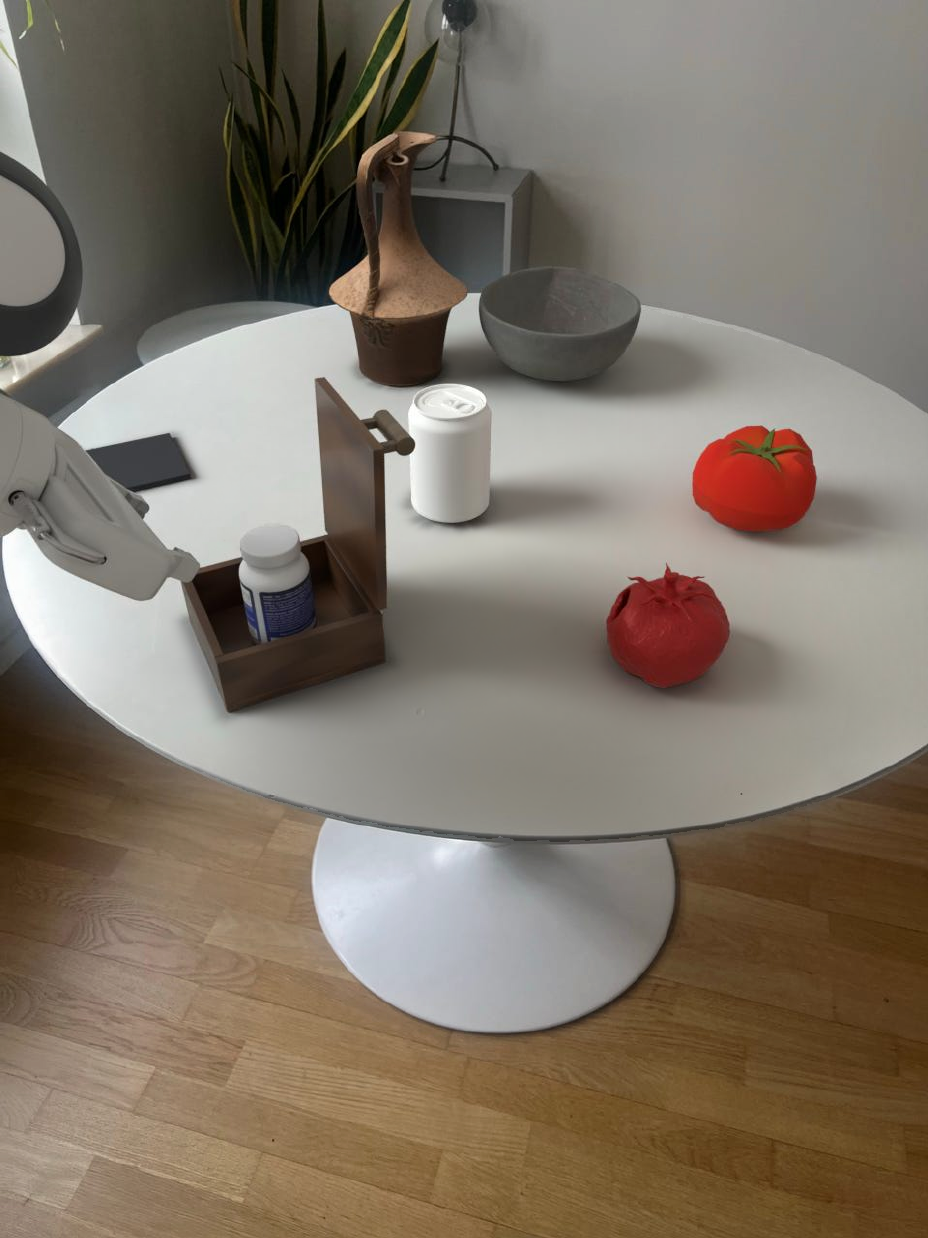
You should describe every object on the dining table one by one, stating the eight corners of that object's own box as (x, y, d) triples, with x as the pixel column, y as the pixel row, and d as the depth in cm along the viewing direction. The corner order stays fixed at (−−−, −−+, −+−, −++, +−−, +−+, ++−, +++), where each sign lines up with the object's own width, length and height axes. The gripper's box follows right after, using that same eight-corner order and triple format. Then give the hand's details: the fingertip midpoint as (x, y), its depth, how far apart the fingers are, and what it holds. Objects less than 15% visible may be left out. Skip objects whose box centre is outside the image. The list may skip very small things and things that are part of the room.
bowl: (452, 389, 117) (452, 311, 111) (509, 329, 132) (512, 257, 125) (607, 419, 111) (616, 339, 105) (649, 353, 126) (659, 279, 119)
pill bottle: (329, 620, 82) (318, 526, 75) (299, 662, 77) (285, 566, 71) (270, 606, 83) (254, 513, 76) (238, 647, 79) (218, 552, 72)
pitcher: (433, 410, 113) (429, 161, 95) (310, 386, 118) (283, 144, 100) (485, 353, 126) (490, 123, 107) (371, 333, 130) (358, 109, 112)
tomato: (737, 564, 90) (756, 488, 84) (663, 499, 98) (676, 427, 93) (839, 532, 94) (863, 458, 88) (759, 473, 102) (777, 402, 97)
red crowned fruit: (745, 670, 78) (769, 583, 72) (655, 717, 74) (673, 628, 68) (664, 607, 84) (680, 522, 78) (577, 646, 80) (587, 559, 74)
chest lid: (373, 450, 66) (437, 437, 67) (314, 378, 74) (372, 368, 76) (377, 611, 75) (433, 596, 77) (324, 530, 83) (376, 518, 85)
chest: (227, 712, 74) (216, 663, 71) (189, 620, 83) (178, 573, 79) (386, 662, 79) (382, 614, 75) (334, 580, 87) (329, 533, 84)
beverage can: (442, 477, 101) (441, 374, 94) (504, 501, 98) (508, 395, 90) (395, 510, 96) (390, 404, 89) (458, 536, 93) (459, 428, 85)
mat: (95, 500, 97) (94, 495, 97) (80, 456, 104) (79, 451, 104) (191, 478, 101) (190, 473, 100) (170, 437, 108) (169, 432, 107)
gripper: (70, 496, 53) (251, 572, 64) (-27, 368, 65) (137, 449, 76) (13, 586, 54) (201, 646, 65) (-72, 443, 66) (97, 513, 77)
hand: (166, 538), depth 70 cm, fingers open, 8 cm apart
